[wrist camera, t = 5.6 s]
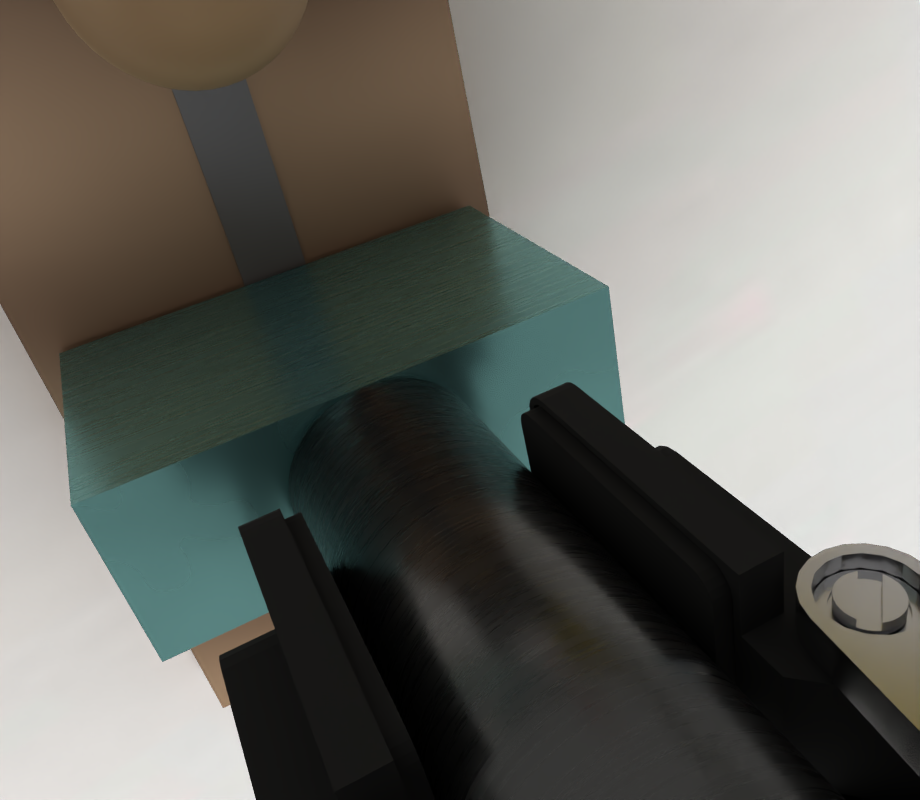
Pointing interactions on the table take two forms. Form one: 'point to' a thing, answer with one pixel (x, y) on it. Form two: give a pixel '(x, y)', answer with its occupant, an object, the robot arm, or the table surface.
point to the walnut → (185, 37)
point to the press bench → (216, 174)
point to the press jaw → (414, 512)
